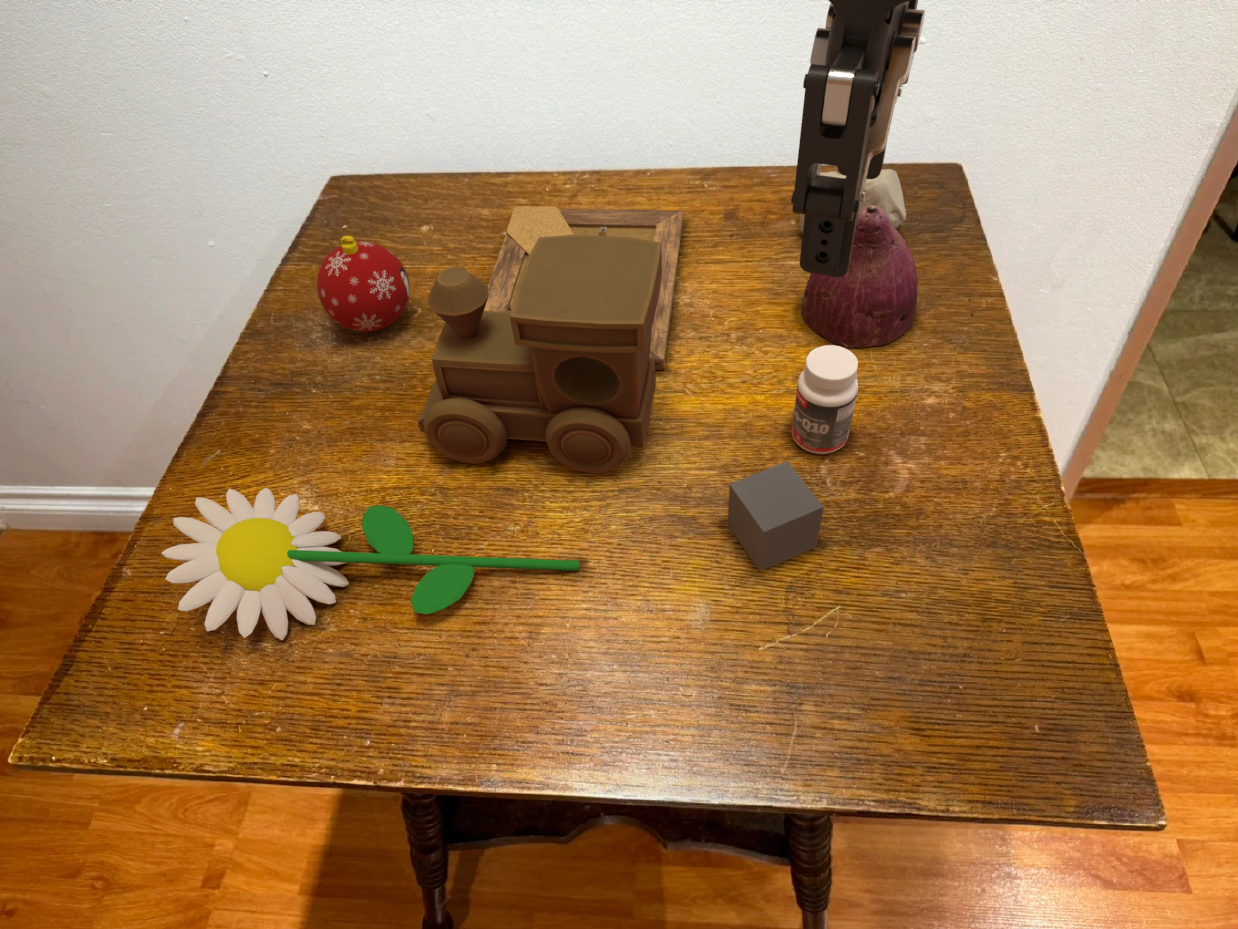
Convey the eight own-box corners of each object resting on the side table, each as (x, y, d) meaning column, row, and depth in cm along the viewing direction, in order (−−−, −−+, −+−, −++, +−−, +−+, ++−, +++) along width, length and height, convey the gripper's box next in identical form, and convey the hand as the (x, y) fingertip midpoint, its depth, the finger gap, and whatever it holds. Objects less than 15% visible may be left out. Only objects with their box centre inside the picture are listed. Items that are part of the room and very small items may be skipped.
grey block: (817, 547, 68) (824, 506, 64) (759, 572, 66) (763, 532, 63) (782, 501, 71) (787, 460, 67) (727, 524, 70) (729, 483, 66)
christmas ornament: (344, 295, 92) (312, 211, 85) (425, 293, 91) (401, 208, 84) (323, 351, 86) (287, 266, 79) (409, 349, 86) (382, 263, 78)
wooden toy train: (669, 388, 80) (665, 231, 67) (652, 486, 73) (643, 329, 60) (457, 374, 83) (414, 221, 70) (420, 467, 76) (365, 314, 63)
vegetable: (883, 381, 83) (919, 285, 70) (782, 338, 86) (798, 238, 72) (927, 298, 87) (970, 191, 73) (829, 259, 89) (852, 149, 76)
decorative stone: (900, 180, 97) (924, 141, 87) (889, 262, 96) (912, 232, 86) (799, 169, 98) (812, 129, 88) (788, 250, 97) (799, 219, 87)
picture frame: (516, 219, 99) (467, 364, 84) (514, 205, 98) (463, 350, 82) (683, 222, 97) (664, 371, 81) (683, 208, 95) (663, 357, 80)
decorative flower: (580, 518, 74) (209, 503, 72) (582, 483, 70) (191, 467, 68) (575, 660, 66) (159, 647, 64) (577, 629, 62) (135, 615, 60)
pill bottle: (779, 435, 75) (787, 362, 69) (815, 406, 77) (825, 333, 71) (824, 464, 73) (836, 391, 67) (859, 434, 75) (875, 360, 69)
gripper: (834, -224, 37) (800, 138, 49) (742, -111, 29) (728, 293, 41) (1025, -222, 35) (940, 156, 47) (988, -99, 26) (895, 323, 39)
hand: (842, 219), depth 44 cm, fingers open, 8 cm apart
